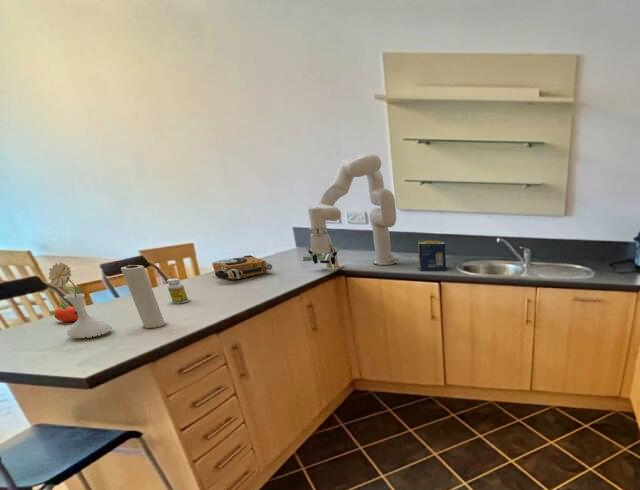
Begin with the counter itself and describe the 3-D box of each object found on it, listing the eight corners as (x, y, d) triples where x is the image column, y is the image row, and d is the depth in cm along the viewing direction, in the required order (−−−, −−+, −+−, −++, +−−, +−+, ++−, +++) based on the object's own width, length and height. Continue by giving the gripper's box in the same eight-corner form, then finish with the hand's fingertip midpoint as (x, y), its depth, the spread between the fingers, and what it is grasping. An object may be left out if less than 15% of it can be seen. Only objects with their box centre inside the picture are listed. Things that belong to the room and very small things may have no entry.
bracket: (336, 271, 235) (333, 249, 230) (322, 270, 235) (318, 249, 230) (343, 267, 244) (340, 246, 239) (329, 266, 244) (326, 246, 239)
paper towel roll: (161, 327, 150) (138, 268, 140) (141, 329, 148) (116, 268, 138) (169, 321, 156) (148, 263, 146) (150, 322, 154) (127, 264, 144)
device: (278, 258, 221) (221, 268, 197) (282, 274, 225) (226, 285, 201) (252, 253, 230) (194, 262, 207) (256, 268, 234) (199, 278, 210)
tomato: (82, 316, 158) (74, 299, 155) (86, 321, 153) (78, 304, 150) (56, 320, 153) (47, 303, 150) (59, 325, 148) (51, 308, 145)
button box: (329, 258, 265) (328, 251, 264) (322, 261, 257) (321, 254, 255) (310, 257, 265) (309, 250, 264) (303, 260, 257) (302, 253, 255)
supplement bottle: (189, 299, 180) (182, 277, 176) (187, 303, 176) (179, 280, 171) (174, 300, 178) (166, 278, 174) (171, 304, 174) (163, 281, 169)
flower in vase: (64, 336, 140) (26, 260, 129) (107, 327, 149) (76, 255, 137) (77, 345, 134) (38, 267, 123) (121, 335, 143) (89, 261, 131)
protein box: (419, 267, 251) (417, 240, 244) (444, 266, 255) (443, 240, 248) (420, 271, 242) (418, 243, 235) (446, 270, 246) (445, 243, 239)
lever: (329, 264, 230) (328, 261, 228) (320, 264, 230) (319, 260, 228) (336, 251, 237) (334, 247, 235) (327, 251, 237) (325, 247, 235)
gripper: (300, 231, 218) (306, 264, 226) (332, 232, 218) (337, 265, 226) (306, 229, 225) (312, 261, 233) (338, 231, 225) (342, 263, 233)
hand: (324, 263), depth 229 cm, fingers open, 9 cm apart
